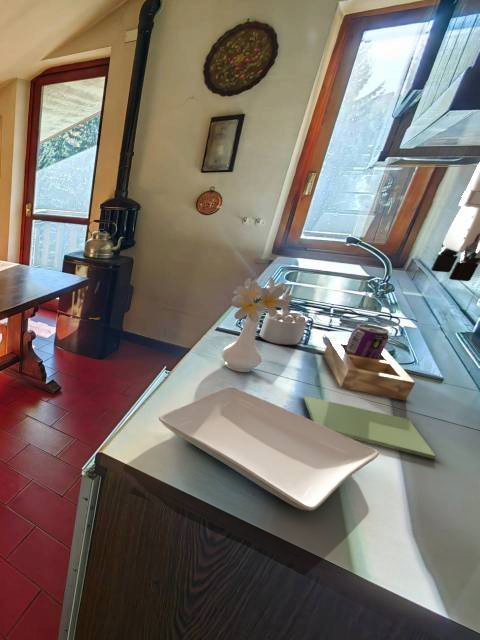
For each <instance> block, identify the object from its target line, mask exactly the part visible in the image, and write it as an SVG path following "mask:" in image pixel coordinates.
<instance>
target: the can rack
mask: <svg viewBox="0 0 480 640" xmlns="http://www.w3.org/2000/svg"><path fill="white" fill-rule="evenodd" d="M347 343H348V342H346V341H340V340H333V339H329V340H328V342H327V344H326V347H325V349H324V352H323V358H324V360H325V361H326V363H327V364H328V366H329V368H330V371H331V372H332V373H333V375H334V378H335V380H336V381H337V383H338V385H339V387H340V388H343V389H349V390H353V391H358V392H363V393H368V394H373V395H378V396H382V397H386V398H391V399H392V398H393V399H397V400H402V401H407V399H408V398H409V395H410V394H411V392H412V389H413V388H414V386H415V384H416V382H415V381H414V379H413V378H412V377H411V376H410V375H409V374H408V373H407V372H406V371H405V369H404V368H403V367H402V366H401V365H400V364H399V363H398V362H397V361H396V359H395V358H393V356H392V355H391V353H389V351H388V350H386V349H385V348H384V349H383V351H382V353H381V356H380V358H379V360H378V359H373V358H367V357H361V356H356V355H350V354H347V353H346V352H345V350H344V349H345V347H346V345H347Z"/></svg>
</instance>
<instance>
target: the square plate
mask: <svg viewBox="0 0 480 640" xmlns="http://www.w3.org/2000/svg"><path fill="white" fill-rule="evenodd" d="M158 421H159V422H160V423H161V424H162V425H163V426H164V427H165V428H166V429H167V430H169V431H171V432H172V433H173V434H175V435H176V436H178V437H180V438H182V439H183V440H185V441H186V442H188V443H190V444H192V445H193V446H194V447H197V448H198V449H200V450H202V451H203V452H205V454H208V455H209V456H211V457H213V458H214V459H216V460H217V461H219V462H221V463H223V464H224V465H226V466H227V467H229V468H230V469H232V470H234V471H235V472H237V473H238V474H240V475H241V476H244V477H245V478H246V479H248V480H250V481H251V482H252V483H254V484H256V485H257V486H259V487H260V488H261V489H264V490H265V491H266V492H269V494H272V495H274V496H276V497H278V498H279V499H280V500H282V501H284V502H286V503H287V504H289V505H291V506H292V507H294V508H296V509H299V510H303V511H309V512H312V511H314V510H316V509H317V508H318V507H320V506H321V505H322V504H323V503H324V502H325V501H326V500H327V499H328V498H329V497H330V496H331V495H332V494H333V493H334V492H335V491H336V490H337V489H338V487H340V486H341V485H342V484H343V483H344V482H346V481H347V479H349V478H350V477H351V476H352V475H354V474H356V473H357V472H358V471H359V470H361V469H362V468H364V467H365V466H367V465H368V464H369V463H371V462H373V461H374V460H376V459H377V457H378V456H379V454H380V452H379V451H378V450H376V449H375V448H372V447H370V446H368V445H366V444H363V443H361V442H359V441H357V440H356V439H353V438H349V437H346V436H344V435H342V434H340V433H338V432H335V431H333V430H331V429H329V428H327V427H325V426H322V425H320V424H318V423H316V422H314V421H312V420H311V419H309V418H307V417H305V416H302V415H300V414H298V413H295V412H294V411H291V410H289V409H287V408H284V407H282V406H280V405H277V404H275V403H272V402H271V401H268V400H266V399H263V398H261V397H259V396H256V395H253V394H252V393H248V392H246V391H244V390H242V389H239V388H237V387H235V386H231V385H230V386H229V385H228V386H226V387H224V388H220V389H218V390H216V391H213V392H211V393H209V394H207V395H205V396H203V397H201V398H199V399H196V400H193V401H191V402H189V403H186V404H184V405H182V406H180V407H177V408H175V409H173V410H171V411H168V412H167V413H165V414H162V415H161V416H159V417H158Z"/></svg>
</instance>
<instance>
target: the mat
mask: <svg viewBox="0 0 480 640" xmlns="http://www.w3.org/2000/svg"><path fill="white" fill-rule="evenodd" d="M303 400H304V402H305V406H306V409H307V412H308V415H309V418H310V420H311V421H314V422H316V423H318V424H320V425H322V426H325V427H327V428H329V429H331V430H333V431H335V432H338V433H340V434H342V435H344V436H346V437H348V438H351V439H353V440H356V441H357V440H358V441H361V442H366V443H369V444H372V445H377V446H381V447H385V448H387V449H393V450H396V451H401V452H403V453H409V454H411V455H412V454H413V455H415V456H416V455H417V456H420V457H424V458H428V459H433V460H435V459H436V457H437V455H436V454H435V453H434V451H433V450H432V448H431V447H430V446H429V444H428V443H427V442H426V440H425V439H424V437H422V435H421V434H420V433H419V431H418V430H417V429H416V428H415V426H414V424H413V423H412V422H411V420H410V419H409V418H405V417H401V416H397V415H391V414H388V413H382V412H379V411H374V410H370V409H365V408H360V407H357V406H351V405H347V404H342V403H339V402H334V401H329V400H326V399H320V398H315V397H312V396H306V395H305V396H304V397H303Z"/></svg>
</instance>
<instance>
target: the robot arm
mask: <svg viewBox="0 0 480 640" xmlns="http://www.w3.org/2000/svg"><path fill="white" fill-rule="evenodd" d="M470 179H471V180H470V181H469V183H468V185H467V187H466V190H465V191H464V193H463V195H462V198H461V200H460V202H459V204H458V207H461V208H460V210H459V212H458V213H457V215H456V217H454V220H453V222H452V223H451V225H450V227H449V229H448V230H447V232H446V234H445V236H444V238H443V239H444V240H443V242H442V244H441V248H440V249H439V251H438V254H437V257H436V259H434V262H433V264H432V266H431V268H430V270H431V271H432V272H438V273H439V272H440V273H450V272H451V273H450V274H449V277H448V279H449V280H451V281H460V282H461V281H462V282H470V281H471V280H472V277H473V276H474V274H475V272H476V270H477V268H478V267H479V265H480V162H479V163H478V164H477V167H476V169H475V171H474V173H473V175H472V177H471V178H470ZM459 253H460V257H459V256H458V254H459ZM458 257H459V261H457V259H458Z"/></svg>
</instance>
